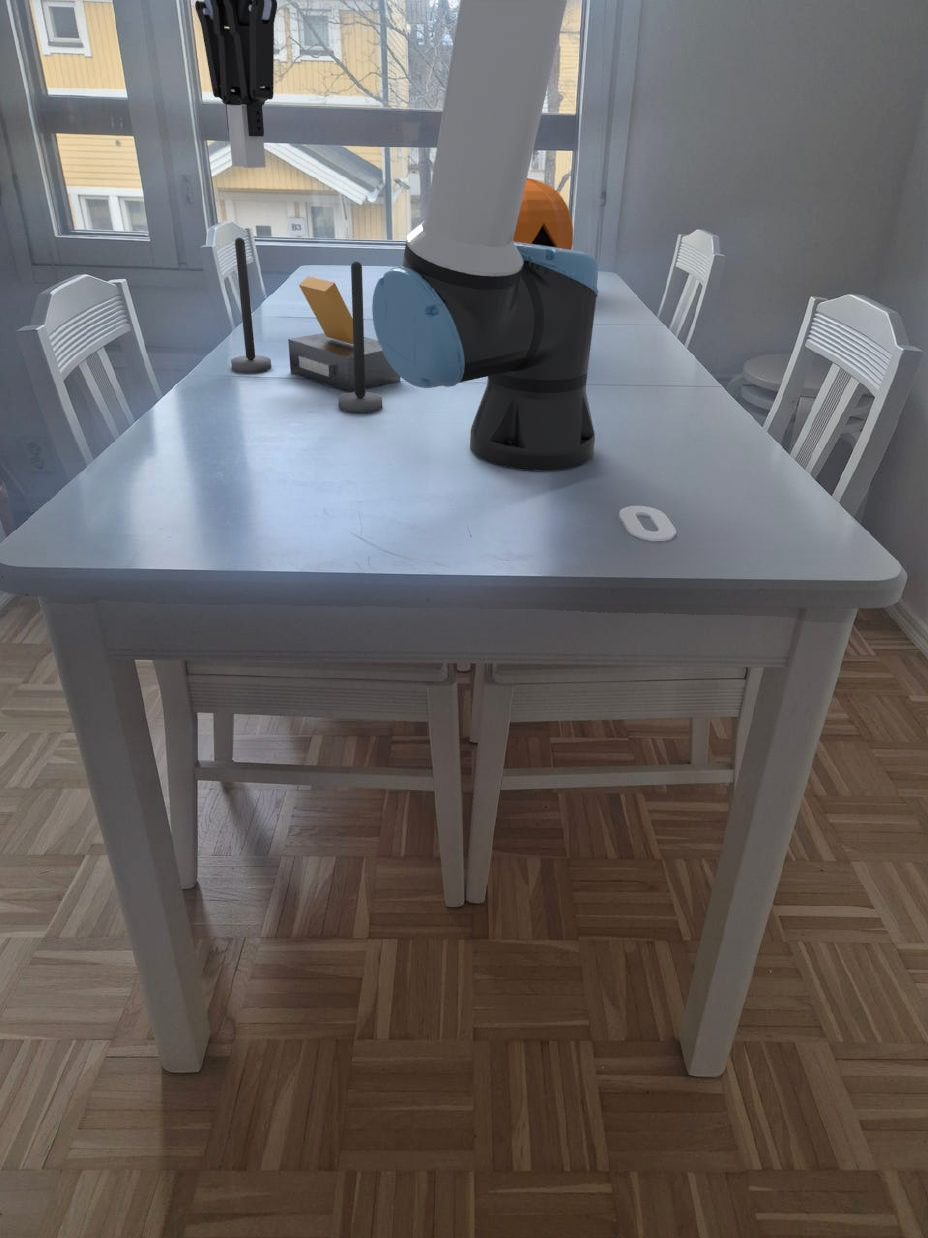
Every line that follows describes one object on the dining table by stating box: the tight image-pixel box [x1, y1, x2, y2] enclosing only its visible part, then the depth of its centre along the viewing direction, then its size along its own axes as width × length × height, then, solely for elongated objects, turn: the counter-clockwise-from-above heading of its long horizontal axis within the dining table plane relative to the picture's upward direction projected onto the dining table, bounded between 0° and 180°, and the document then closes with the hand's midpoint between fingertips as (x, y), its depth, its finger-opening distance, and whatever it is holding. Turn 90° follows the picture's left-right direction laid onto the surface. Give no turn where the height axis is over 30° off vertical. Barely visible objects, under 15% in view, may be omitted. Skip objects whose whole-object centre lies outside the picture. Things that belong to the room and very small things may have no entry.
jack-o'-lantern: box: [513, 177, 574, 250], centre depth 185 cm, size 28×28×30 cm
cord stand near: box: [337, 261, 383, 415], centre depth 110 cm, size 6×6×19 cm
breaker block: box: [288, 332, 401, 393], centre depth 126 cm, size 11×14×5 cm
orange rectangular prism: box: [298, 276, 353, 344], centre depth 121 cm, size 2×6×10 cm, turn 47°
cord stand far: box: [230, 237, 272, 374], centre depth 125 cm, size 6×6×19 cm
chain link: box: [618, 505, 677, 540], centre depth 85 cm, size 8×1×5 cm
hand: (248, 166), depth 104 cm, fingers closed
